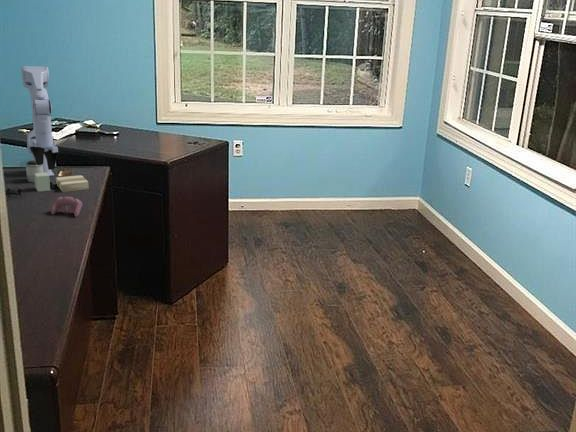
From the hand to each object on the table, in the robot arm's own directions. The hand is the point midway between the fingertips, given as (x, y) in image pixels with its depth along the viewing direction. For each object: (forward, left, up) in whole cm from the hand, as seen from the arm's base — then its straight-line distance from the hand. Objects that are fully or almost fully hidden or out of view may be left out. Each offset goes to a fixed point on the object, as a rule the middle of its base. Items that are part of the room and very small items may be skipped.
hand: (45, 166), depth 230 cm
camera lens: (-14, -2, -10) cm, 17 cm away
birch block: (-1, +10, -9) cm, 14 cm away
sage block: (-2, -1, -10) cm, 10 cm away
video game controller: (+28, +1, -10) cm, 30 cm away
